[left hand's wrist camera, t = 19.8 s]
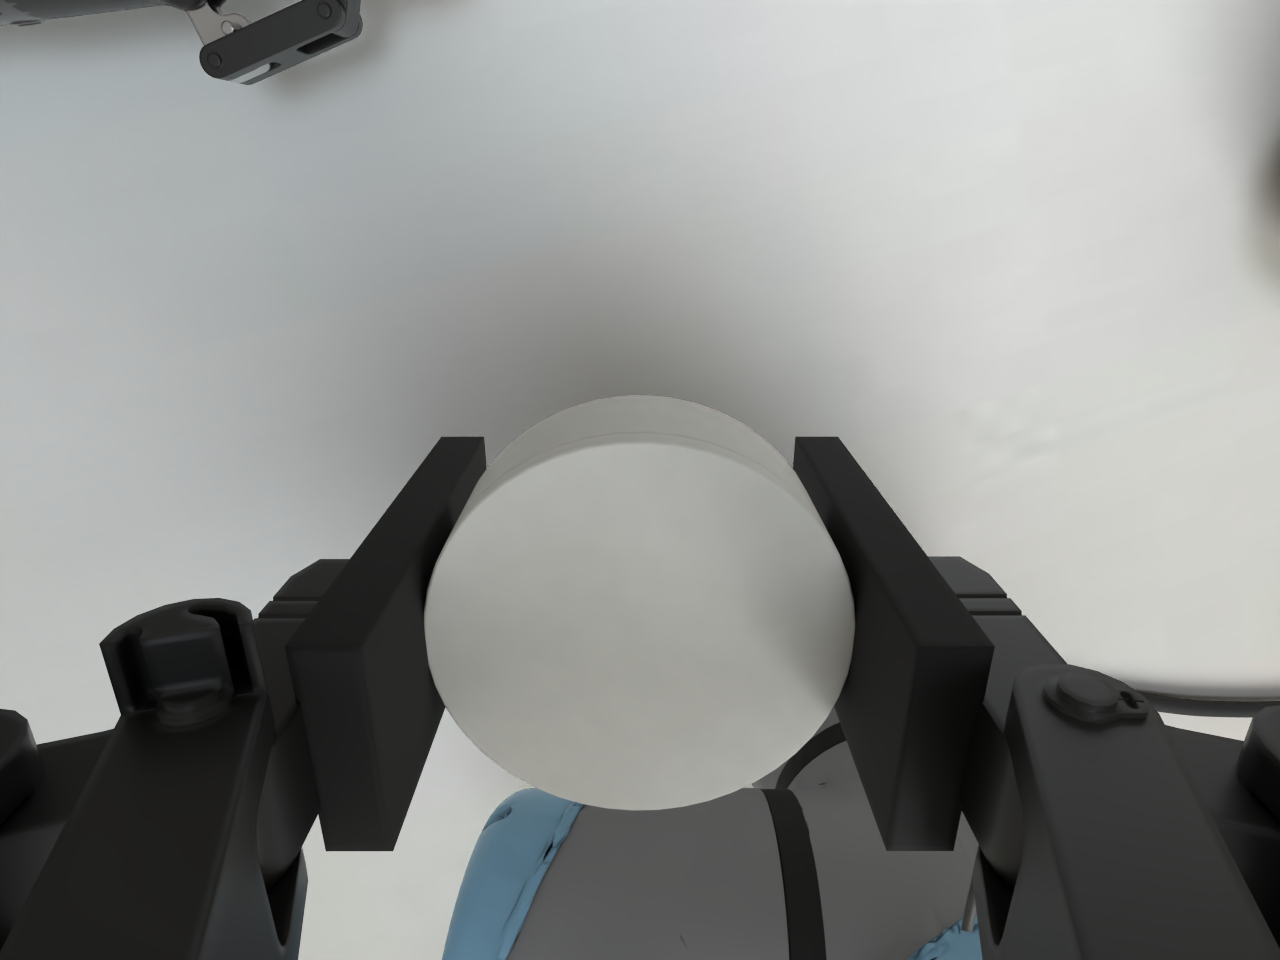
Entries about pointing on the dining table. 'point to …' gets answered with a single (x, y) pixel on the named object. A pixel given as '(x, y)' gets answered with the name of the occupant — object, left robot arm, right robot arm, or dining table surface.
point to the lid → (639, 607)
